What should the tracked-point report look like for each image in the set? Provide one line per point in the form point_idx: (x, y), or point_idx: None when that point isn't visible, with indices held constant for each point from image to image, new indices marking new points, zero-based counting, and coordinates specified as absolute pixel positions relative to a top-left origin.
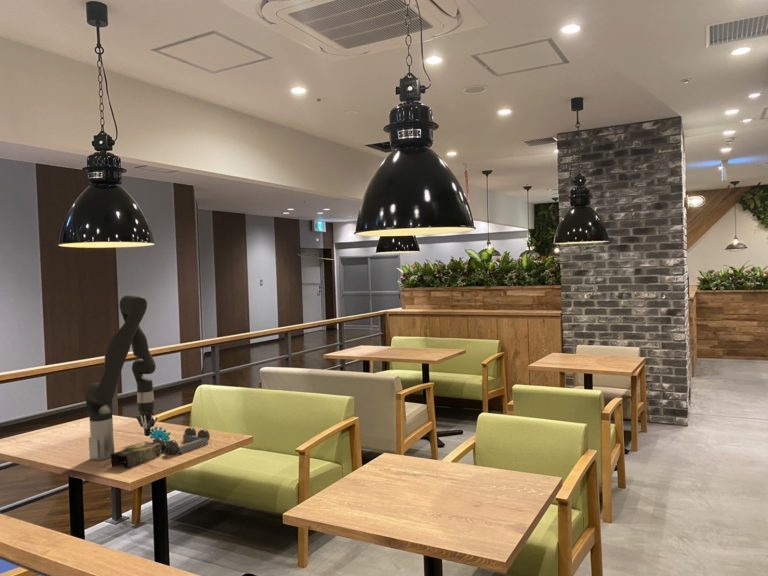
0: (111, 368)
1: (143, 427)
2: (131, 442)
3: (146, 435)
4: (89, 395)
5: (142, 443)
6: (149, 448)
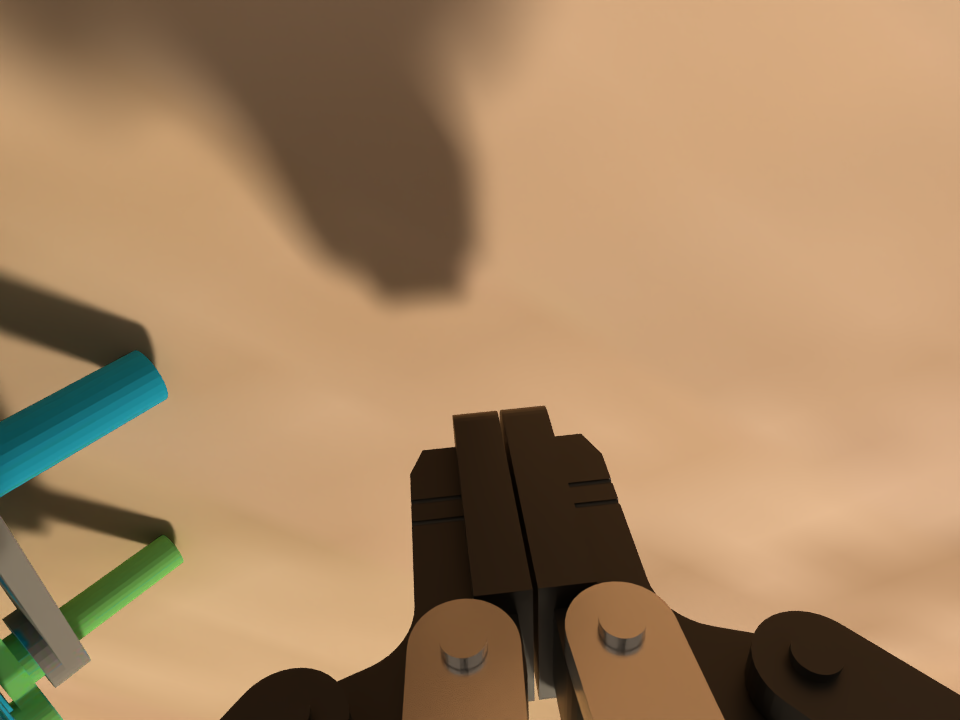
0: None
1: (636, 613)
2: (817, 72)
3: (457, 421)
4: None
5: None
6: None
